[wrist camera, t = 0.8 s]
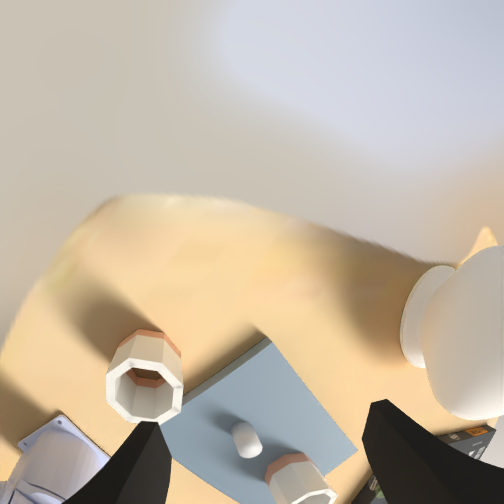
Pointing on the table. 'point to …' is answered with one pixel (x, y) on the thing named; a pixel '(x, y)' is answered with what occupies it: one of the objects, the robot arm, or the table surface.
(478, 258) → the decorative vase
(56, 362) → the table surface
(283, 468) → the seated sleeve
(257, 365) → the pin board
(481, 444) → the pizza box
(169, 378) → the sleeve
